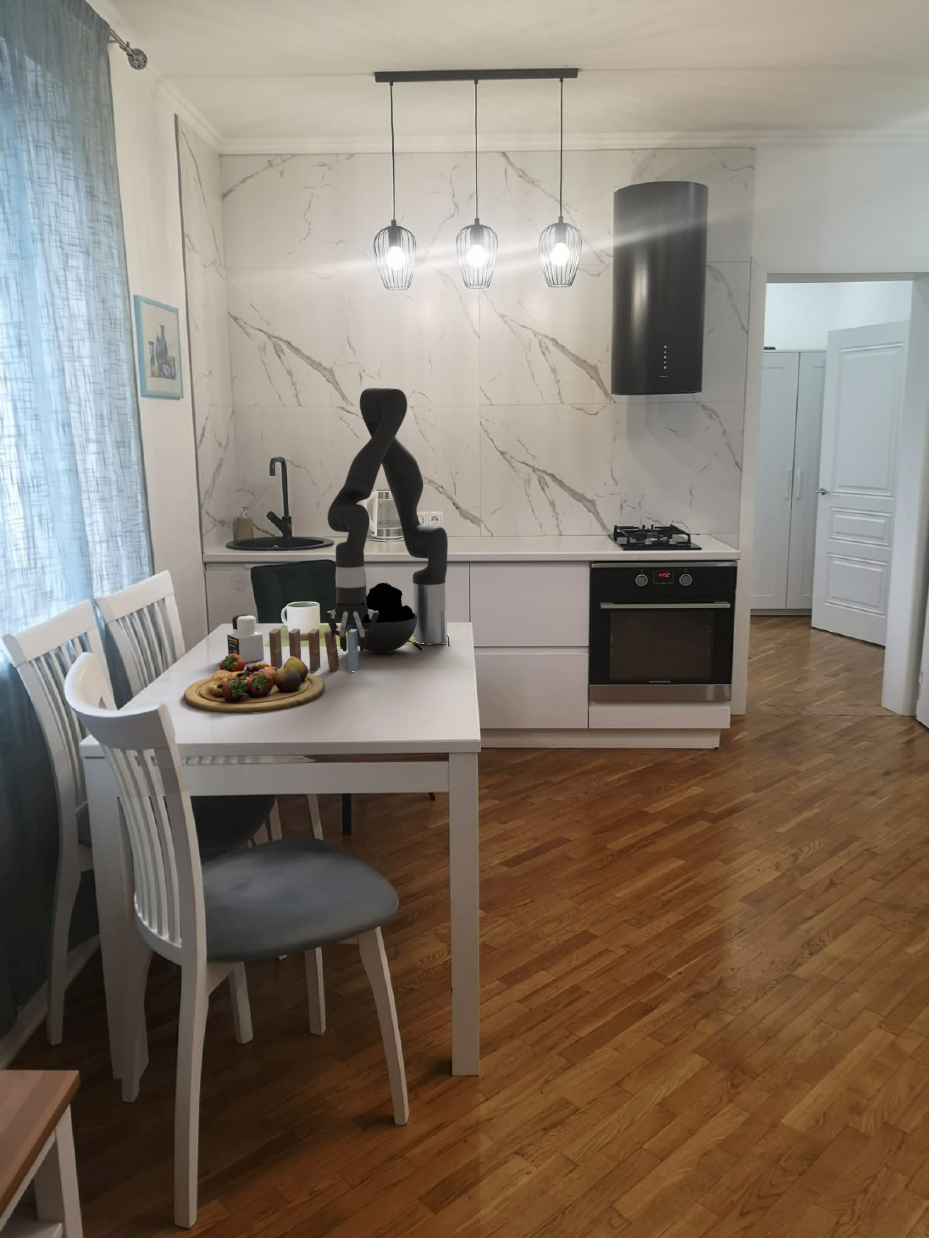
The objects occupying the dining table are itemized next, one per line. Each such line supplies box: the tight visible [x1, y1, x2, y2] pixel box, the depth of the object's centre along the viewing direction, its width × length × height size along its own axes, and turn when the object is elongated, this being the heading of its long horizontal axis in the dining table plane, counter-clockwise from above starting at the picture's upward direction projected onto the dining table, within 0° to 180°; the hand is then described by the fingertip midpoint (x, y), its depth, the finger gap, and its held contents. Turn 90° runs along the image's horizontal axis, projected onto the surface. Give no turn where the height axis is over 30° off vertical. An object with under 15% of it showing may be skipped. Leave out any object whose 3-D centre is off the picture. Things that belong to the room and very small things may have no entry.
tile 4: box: [288, 628, 302, 661], centre depth 245 cm, size 2×5×10 cm, turn 176°
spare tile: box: [346, 629, 359, 673], centre depth 244 cm, size 2×5×10 cm, turn 176°
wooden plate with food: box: [183, 654, 326, 714], centre depth 223 cm, size 32×32×8 cm
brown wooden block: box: [268, 628, 283, 669], centre depth 245 cm, size 2×5×10 cm, turn 176°
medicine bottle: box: [226, 614, 265, 664], centre depth 256 cm, size 7×7×12 cm
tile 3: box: [307, 628, 322, 673], centre depth 245 cm, size 2×5×10 cm, turn 176°
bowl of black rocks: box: [346, 582, 417, 654], centre depth 261 cm, size 20×20×19 cm
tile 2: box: [323, 628, 341, 672], centre depth 244 cm, size 2×5×10 cm, turn 176°
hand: (353, 650), depth 244 cm, fingers open, 4 cm apart
